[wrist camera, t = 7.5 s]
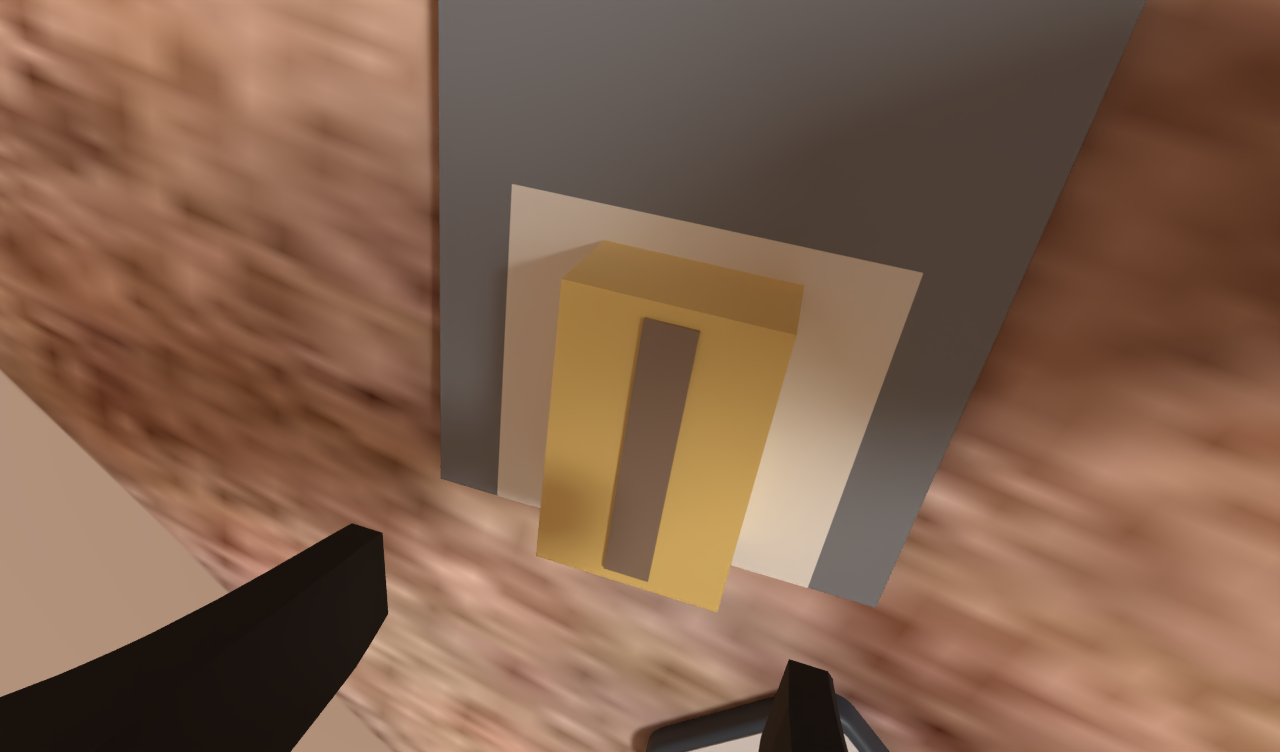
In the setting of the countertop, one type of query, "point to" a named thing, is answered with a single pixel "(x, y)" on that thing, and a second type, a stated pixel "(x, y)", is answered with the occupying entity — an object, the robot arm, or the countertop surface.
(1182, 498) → the countertop surface
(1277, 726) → the countertop surface
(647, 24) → the mat
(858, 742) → the phone case
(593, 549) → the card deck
